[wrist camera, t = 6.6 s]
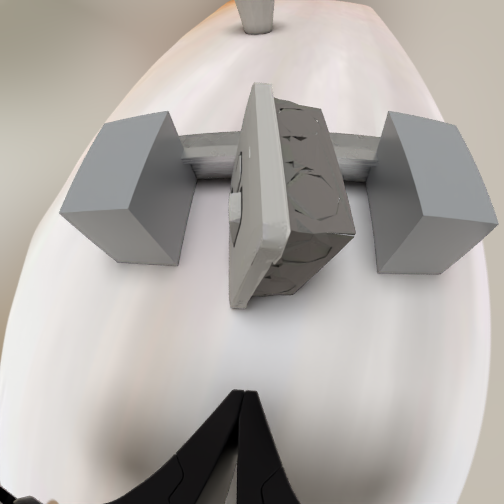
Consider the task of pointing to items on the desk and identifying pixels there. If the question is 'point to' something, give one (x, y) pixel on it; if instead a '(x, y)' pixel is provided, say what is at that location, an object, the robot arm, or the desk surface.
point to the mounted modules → (378, 187)
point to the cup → (256, 15)
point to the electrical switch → (283, 199)
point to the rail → (226, 143)
